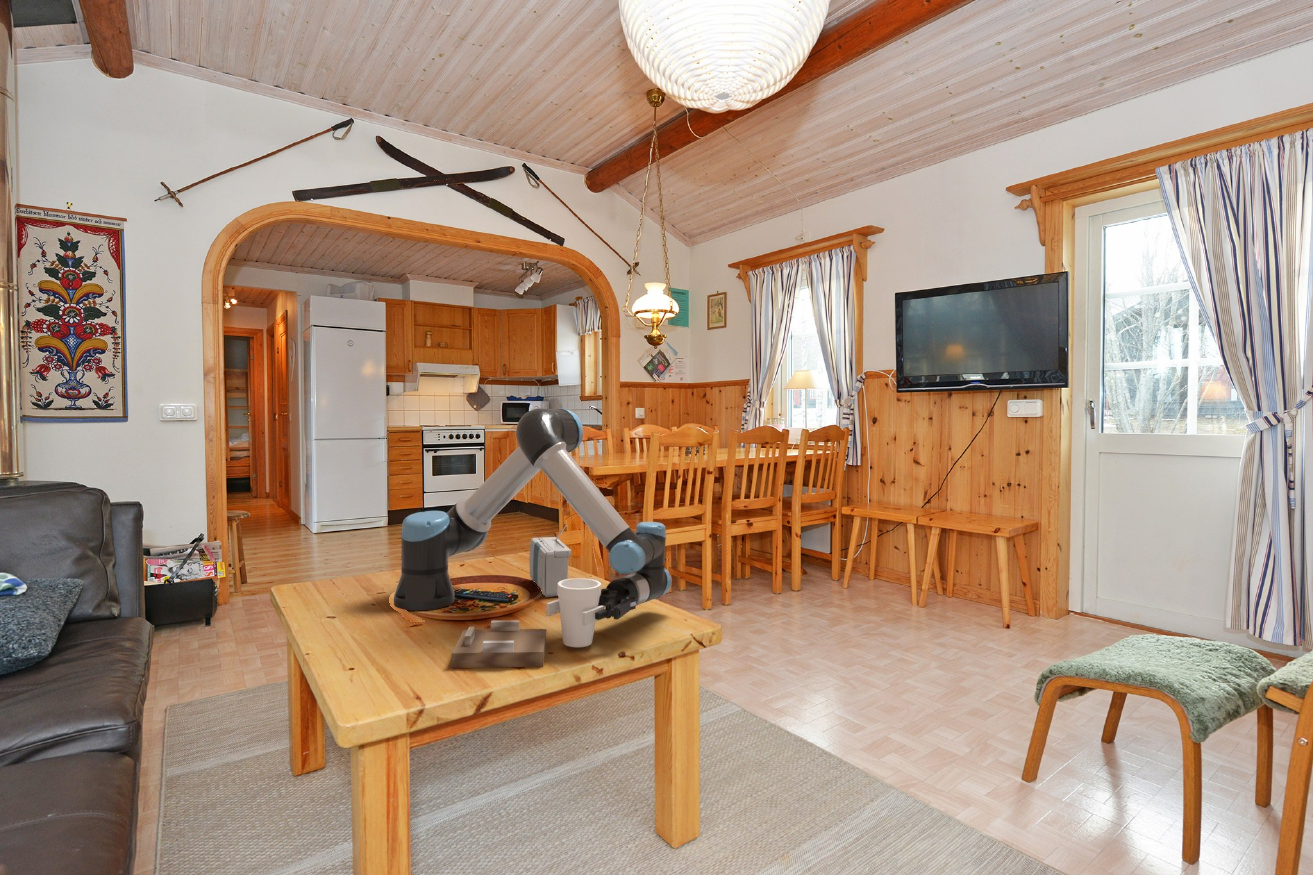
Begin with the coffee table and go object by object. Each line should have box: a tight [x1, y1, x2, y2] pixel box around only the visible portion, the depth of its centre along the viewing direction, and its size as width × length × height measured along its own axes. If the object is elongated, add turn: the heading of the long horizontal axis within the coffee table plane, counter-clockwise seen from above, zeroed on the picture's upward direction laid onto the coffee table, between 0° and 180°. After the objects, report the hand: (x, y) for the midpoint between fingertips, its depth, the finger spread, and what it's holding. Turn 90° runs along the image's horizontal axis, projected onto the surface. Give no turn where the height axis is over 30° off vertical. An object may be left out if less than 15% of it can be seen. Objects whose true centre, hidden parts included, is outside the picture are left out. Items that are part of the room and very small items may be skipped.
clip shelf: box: [451, 619, 547, 669], centre depth 144 cm, size 18×14×5 cm
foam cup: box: [557, 577, 602, 648], centre depth 149 cm, size 10×9×13 cm
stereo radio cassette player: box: [529, 524, 572, 598], centre depth 197 cm, size 21×8×20 cm, turn 20°
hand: (565, 614), depth 145 cm, fingers closed on foam cup, 9 cm apart
